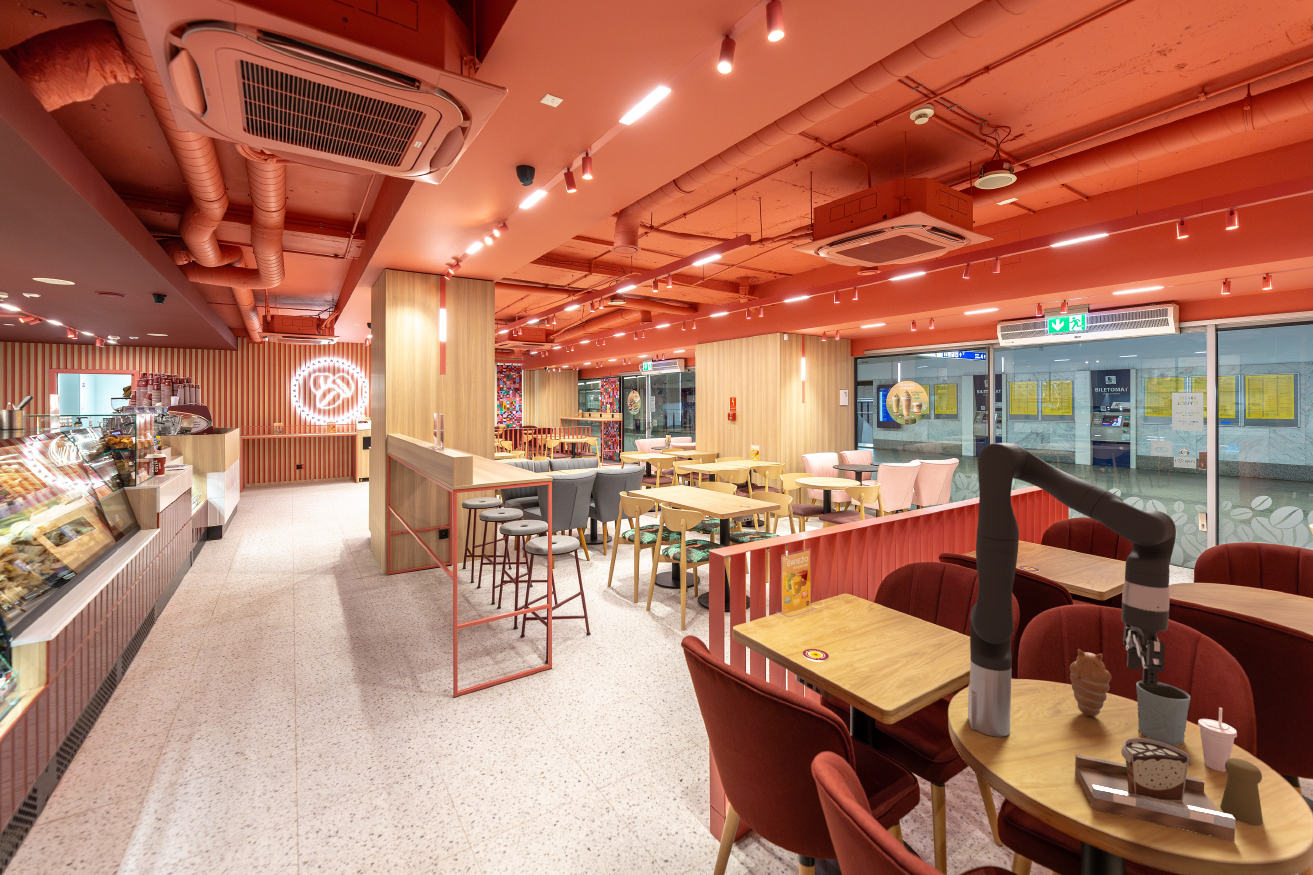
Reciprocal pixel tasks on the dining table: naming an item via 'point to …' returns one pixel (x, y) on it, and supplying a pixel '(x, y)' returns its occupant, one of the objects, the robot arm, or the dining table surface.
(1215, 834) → the wooden tray
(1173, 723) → the grey blue pot
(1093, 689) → the cat ice cream
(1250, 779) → the cork
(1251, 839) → the dining table surface
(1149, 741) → the food container
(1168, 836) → the dining table surface
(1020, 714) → the dining table surface
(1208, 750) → the smoothie
